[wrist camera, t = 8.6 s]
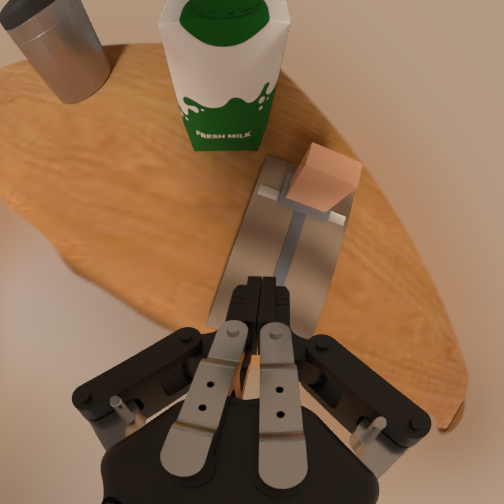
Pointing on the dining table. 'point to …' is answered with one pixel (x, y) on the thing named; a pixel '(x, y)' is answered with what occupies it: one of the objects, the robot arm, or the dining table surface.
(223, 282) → the console
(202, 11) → the milk carton
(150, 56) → the dining table surface
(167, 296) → the dining table surface
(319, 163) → the fader
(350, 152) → the dining table surface
